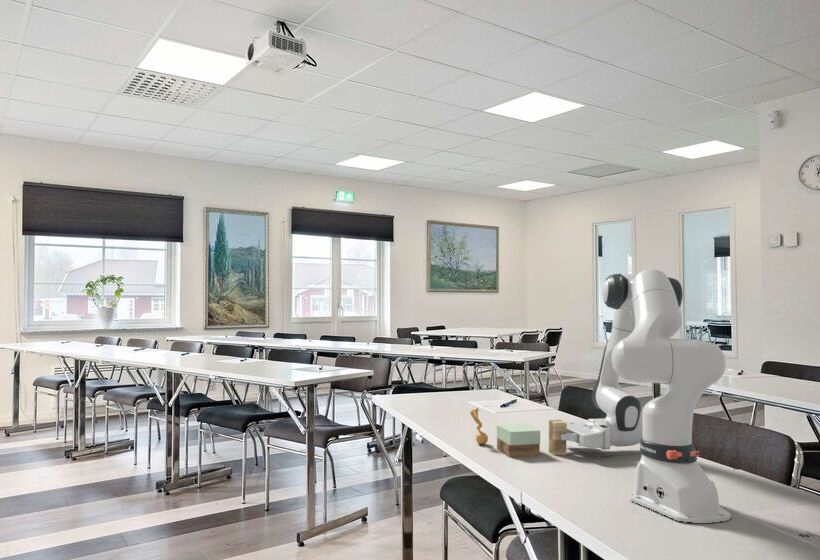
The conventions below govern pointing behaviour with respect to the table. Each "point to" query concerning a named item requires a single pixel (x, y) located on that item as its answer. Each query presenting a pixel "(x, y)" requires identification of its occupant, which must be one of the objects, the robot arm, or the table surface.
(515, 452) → the tower base
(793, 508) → the table surface
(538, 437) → the pale green square slab
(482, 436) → the figurine
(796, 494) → the table surface
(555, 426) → the oak post
